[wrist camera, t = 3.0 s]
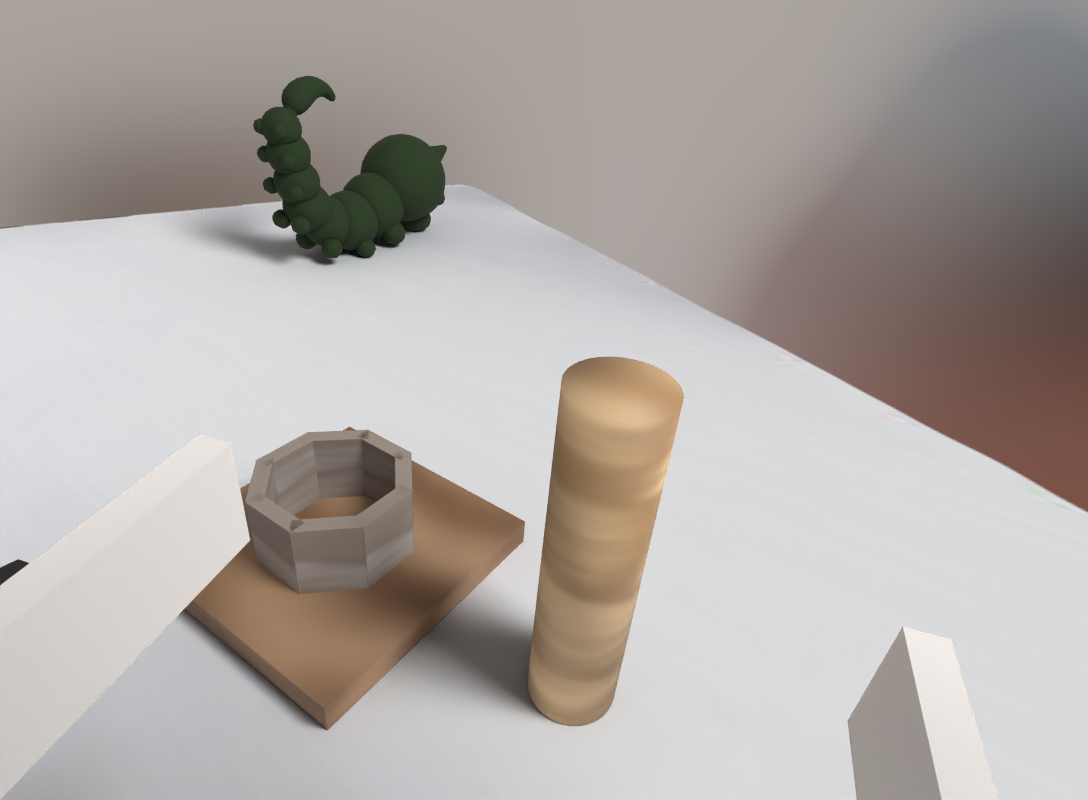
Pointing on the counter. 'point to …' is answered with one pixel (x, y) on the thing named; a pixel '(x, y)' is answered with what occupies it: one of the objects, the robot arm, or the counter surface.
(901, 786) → the robot arm
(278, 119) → the toy figurine
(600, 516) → the oak cylinder
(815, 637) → the counter surface
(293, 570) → the cup bracket
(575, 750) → the counter surface
